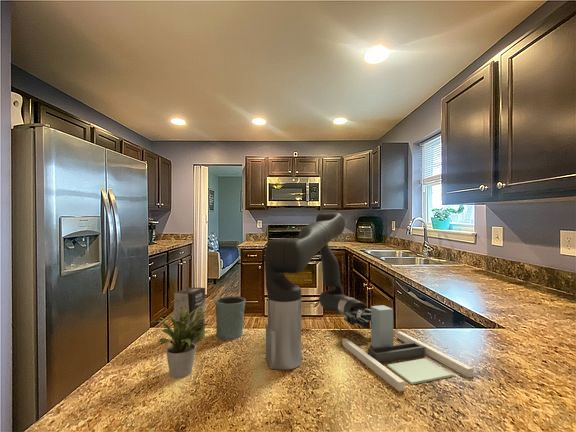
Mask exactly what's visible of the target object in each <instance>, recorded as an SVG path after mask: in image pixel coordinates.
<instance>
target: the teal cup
mask: <svg viewBox="0 0 576 432" xmlns="http://www.w3.org/2000/svg"><path fill="white" fill-rule="evenodd" d="M214 302H215V303H214V306H215V316H216V317H215V322H216V326H215V327H216V328H215V331H216V335H215V336H216V337H217V339H218V340H220V341H221V340H222V341H232V340H237V339H240V338H241V337H242V335H243V331H244V319H245V317H244V314H245V307H246V298H244V297H243V296H242V297H241V296H234V295H233V296H231V295H230V296H228V295H227V296H222V297H218V298H216V299H215V300H214Z"/></svg>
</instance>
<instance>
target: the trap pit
mask: <svg viewBox="0 0 576 432" xmlns="http://www.w3.org/2000/svg"><path fill="white" fill-rule="evenodd" d="M367 354H368V355H370V356H371V357H373V358H374V359H375V360H377V361H378V362H379V363H381V364H384V363H385V364H386V363H392V362H398V361H399V362H400V361H403V360H404V361H405V360H411V359H416V358H421V357H425V356H426V354H425V347H424V346H422V345H420V344H418V343H416V342H410V343H405V342H404V343H397V344H394V345H389V346H382V347H375V348H374V347H369V348H367Z"/></svg>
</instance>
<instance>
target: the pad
mask: <svg viewBox="0 0 576 432" xmlns="http://www.w3.org/2000/svg"><path fill="white" fill-rule="evenodd" d="M386 366H387V367H386V368H389V370H390V371H392V372H393V373H394V374H396V375H397V376H398V377H399V376H400V378H401V379H404V381H406V382H408V383H409V385H410V384H411V385H417V384H422V383H427V382H432V381H437V380H442V379H447V378H452V377H453V374H452V373H451V372H449V371H447V370H445V369H444V368H442V367H440V366H438V365H437V364H435V363H434V362H431V361H430V360H428V359H427V358H419V359H412V360H407V361H401V362H400V361H399V362H395V363H389V364H386Z"/></svg>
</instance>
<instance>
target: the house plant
mask: <svg viewBox="0 0 576 432" xmlns="http://www.w3.org/2000/svg"><path fill="white" fill-rule="evenodd" d="M195 309H196V308H195ZM195 309H194V310H193V311H192V312H191V313H190V314H189V315H188V311H189V308H187V309H186V310H185V312H184V314H183V317H182V306H181V309H180V313H179V329H178V326H177V322H176V320H175V318H174V315H172V314H171V313H168V315H167V314H165V316H166V317H170V321H171V323H172V325H173V329H174V330H175V334H176V337H175V334H174V332H173V329H172V327H171V325H170V324H169V322H167V321H166V319H165V318H162V317H160V319H162V320H163V321H162V320H160V319H157V321H153V323H155V322H158V323H160V324H162V325H163V326H164V327H165V328H163V329H162V330H161V331H162V332H163V333H165V334H167V335H168V336H169V337H170V338H171V339H172V340H171V339H168V338H165V337H161V338H160V339H159V340H158V342H157V344H159V346H161V345H163V344H166V343H171V345H169V346H168V347H167V348H166V351H165V352H166V358H167V359H166V360H167V365H168V372H169V377H170V378H173V379H182V378H186V377H188V376H190V375H191V374H192V371H193V366H194V361H195V357H196V356H195V354H196V350H197V349H196V348H197V345H196V344H195V343H191V342H192V341H193V340H194V339H195V338H196V337H201V336H203V337H205V338H207V336H206V335H204V334H198V335H195V334H196V333H199V332H201V333H203V332H205V334H207V335H209V332H208V331H206V330H205V331H203V330H201V331H197V332H195V333H194V331H195V330H196V329H198V328H200V327H202V326H205V327H206V326H209V325H212V323H205V324H200V325H197V326H194V327H192V326H193V325H194V323H195V322H196V321H198V319H199V317H200V316H201V315H202V314H203V313H205V314H206V312H207V310H205V312H203V313H201V314H200V315H198V316H197V317H196V318H195V319H194V321H193V322H192V323H191V324H190V325H189V326H187V327H189V328H188V329H185V328H187V327H186V324H187V322H188V320H189V318H190V317H191V315H192V313H193V312H194V311H195ZM202 319H205V320H206V319H207V317H205V318H202ZM199 320H201V319H199ZM164 321H165V322H164ZM199 322H202V321H199ZM199 322H197V323H199ZM148 323H150V321H149V322H148ZM197 323H196V324H197ZM191 327H192V328H191ZM193 333H194V334H193ZM192 334H193V335H195V336H193V335H192ZM192 336H193V337H192ZM191 337H192V338H191ZM193 338H194V339H193ZM191 339H193V340H192V341H191ZM173 341H174V342H173Z"/></svg>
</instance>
